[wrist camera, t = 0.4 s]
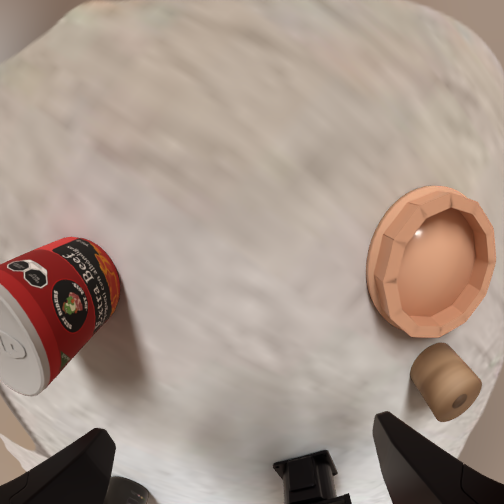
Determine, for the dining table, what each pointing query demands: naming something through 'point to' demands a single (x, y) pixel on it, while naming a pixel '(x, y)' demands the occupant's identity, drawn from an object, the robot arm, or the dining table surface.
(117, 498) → the supplement bottle
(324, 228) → the dining table surface
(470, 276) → the dish
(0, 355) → the canned food
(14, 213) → the dining table surface
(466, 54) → the dining table surface
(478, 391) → the bead
